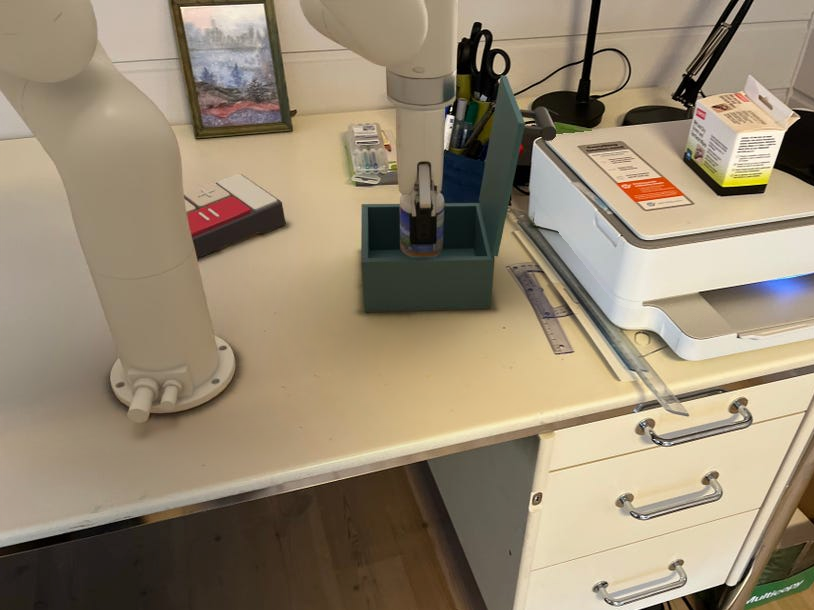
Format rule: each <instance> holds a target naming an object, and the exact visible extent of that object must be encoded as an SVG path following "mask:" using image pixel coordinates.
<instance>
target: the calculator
mask: <svg viewBox="0 0 814 610" xmlns="http://www.w3.org/2000/svg"><path fill="white" fill-rule="evenodd" d="M184 200H185V206H186V212H187V217H188V222H189V226H190V231H191V235H192V240H193V243H194V247H195V252H196V256H197V259H198V258H201V257H204V256H206V255H208V254H210V253H213V252H214V251H218V250H220V249H222V248H224V247H227V246H229V245H231V244H234V243H237V242H239V241H241V240H243V239H246V238H248V237H250V236H253V235H255V234H258V233H259V234H267V233H269V232H271V231H273V230H276V229H278V228H280V227H283V226H285V225H286V217H285V212H284V206H283V202H282V200H280V199H278V198H277V197H276V196H274V195H273V194H271V193H270V192H269V191H267V190H265V189H264V188H262V187H261V186H259V185H258V184H257V183H255V182H254V181H252V180H251V179H249V178H248V177H246V175H244V174H240V173H236V174H234V175H231V176H229V177H225V178H223V179H221V180H218V181H217V182H209V183H206V184H204V185H201V186H198V187H195V188H193V189H190V190H188V191H185V192H184Z"/></svg>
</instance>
